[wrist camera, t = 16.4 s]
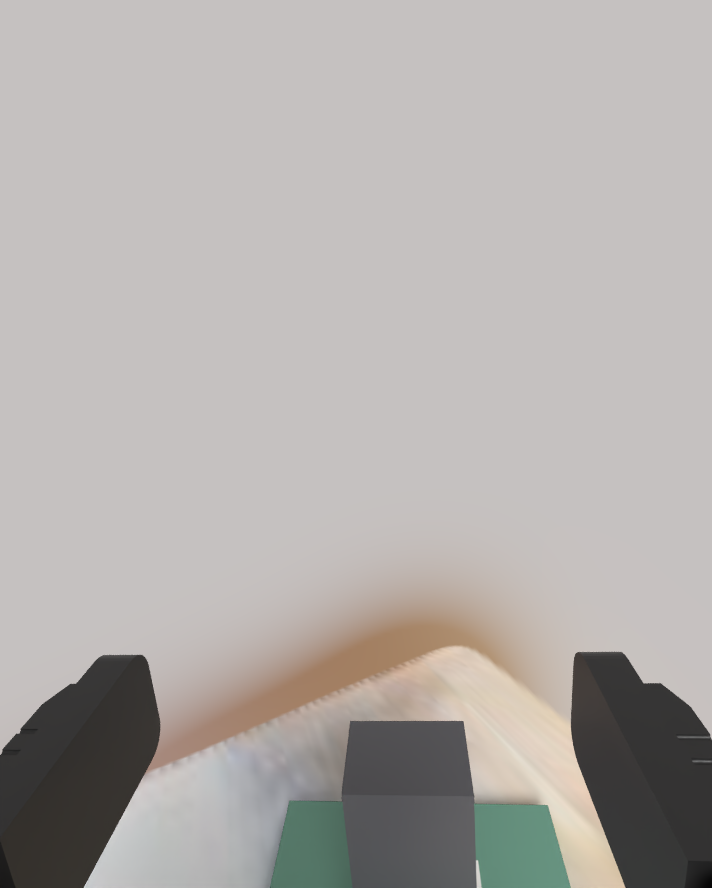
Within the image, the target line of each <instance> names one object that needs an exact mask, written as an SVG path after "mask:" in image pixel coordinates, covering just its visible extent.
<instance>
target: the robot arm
mask: <svg viewBox="0 0 712 888" xmlns="http://www.w3.org/2000/svg"><path fill="white" fill-rule="evenodd" d="M571 732H572V740H573V746H574V751H575V755H576V758H577V762H578V764H579V767H580V770H581V772H582V775H583V778H584V780H585V783H586V785H587V788H588V791H589V793H590V796H591V798H592V801H593V804H594V806H595V809H596V811H597V814H598V817H599V819H600V822H601V824H602V827H603V830H604V832H605V835H606V838H607V840H608V843H609V845H610V848H611V851H612V853H613V856H614V858H615V861H616V864H617V866H618V869H619V871H620V874H621V877H622V879H623V882H624V884H625V887H626V888H712V740H711V737H710V734H709V732H708V731H707V729H706V728H705V727H704V725H703V724H702V722H701V721H700V720H699V718H698V717H697V715H696V714H695V712H694V711H693V710H692V708H691V707H690V706H689V705H688V704H686V703H685V702H684V701H683V700H681V699H680V698H679V697H677V696H676V695H675V694H674V693H672V692H671V691H670V690H668V689H667V688H666V687H665V686H663V685H662V684H661V683H659V684H658V683H655V684H654V683H650V684H649V683H648V684H643V682H642V680H641V679H640V677H639V676H638V674H637V673H636V671H635V669H634V668H633V666H632V665H631V663H630V662H629V660H628V659H627V657H626V656H625V655H624V654H623V653H622V652H578V653H576V654H575V657H574V666H573V690H572V710H571ZM159 736H160V718H159V714H158V708H157V704H156V699H155V694H154V689H153V684H152V679H151V675H150V670H149V665H148V662H147V660H146V658H145V657H144V656H143V655H103V656H101V657H99V658H98V659H97V660H96V661H95V662H94V663H93V665H92V666H91V667H90V668H89V669H88V670H87V672H86V673H85V674H84V675H83V676H82V678H81V679H80V680H79V681H78V682H77V683H76V684H70V685H68V686H67V687H66V688H64V689H63V690H61V691H60V692H59V693H57V694H56V695H55V696H53V697H52V698H50V699H49V700H48V701H46V702H45V703H44V704H42V705H41V706H40V707H39V709H38V710H37V711H36V712H35V713H34V714H33V715H32V717H31V718H30V719H29V720H28V721H27V722H26V724H25V725H24V726H23V727H22V728H21V731H20V734H16V735H15V736H14V737H13V738H12V739H11V740H10V742H9V743H8V744H7V745H6V746H5V747H4V748H3V752H2V754H1V755H0V888H84V886H85V884H86V882H87V880H88V878H89V876H90V875H91V873H92V871H93V869H94V867H95V865H96V863H97V861H98V860H99V858H100V856H101V854H102V852H103V850H104V848H105V847H106V845H107V843H108V841H109V839H110V837H111V835H112V834H113V832H114V830H115V828H116V826H117V824H118V822H119V820H120V819H121V817H122V815H123V813H124V811H125V809H126V807H127V806H128V804H129V802H130V800H131V798H132V796H133V794H134V793H135V791H136V789H137V787H138V785H139V783H140V781H141V779H142V778H143V776H144V774H145V772H146V770H147V768H148V766H149V765H150V763H151V761H152V759H153V757H154V754H155V752H156V749H157V746H158V742H159Z"/></svg>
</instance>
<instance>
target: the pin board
mask: <svg viewBox="0 0 712 888" xmlns="http://www.w3.org/2000/svg"><path fill="white" fill-rule="evenodd" d="M474 812H475V846H476V880H477V888H571V887H570V883H569V880H568V876H567V873H566V869H565V865H564V862H563V858H562V855H561V851H560V848H559V844H558V840H557V837H556V833H555V830H554V826H553V823H552V819H551V815H550V812H549V808H548V805H508V804H474ZM270 888H352V879H351V871H350V862H349V854H348V845H347V837H346V828H345V820H344V811H343V803H342V802H338V801H289V805H288V810H287V814H286V819H285V823H284V827H283V832H282V836H281V841H280V845H279V850H278V854H277V859H276V863H275V867H274V872H273V876H272V881H271V885H270Z"/></svg>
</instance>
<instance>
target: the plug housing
mask: <svg viewBox="0 0 712 888" xmlns="http://www.w3.org/2000/svg"><path fill="white" fill-rule="evenodd" d="M342 803H343V811H344V820H345V828H346V837H347V845H348V854H349V862H350V871H351V879H352V888H477V880H476V846H475V812H474V793H473V786H472V779H471V772H470V765H469V758H468V751H467V744H466V736H465V729H464V722H463V721H350V729H349V737H348V745H347V754H346V762H345V770H344V778H343V787H342Z"/></svg>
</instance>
